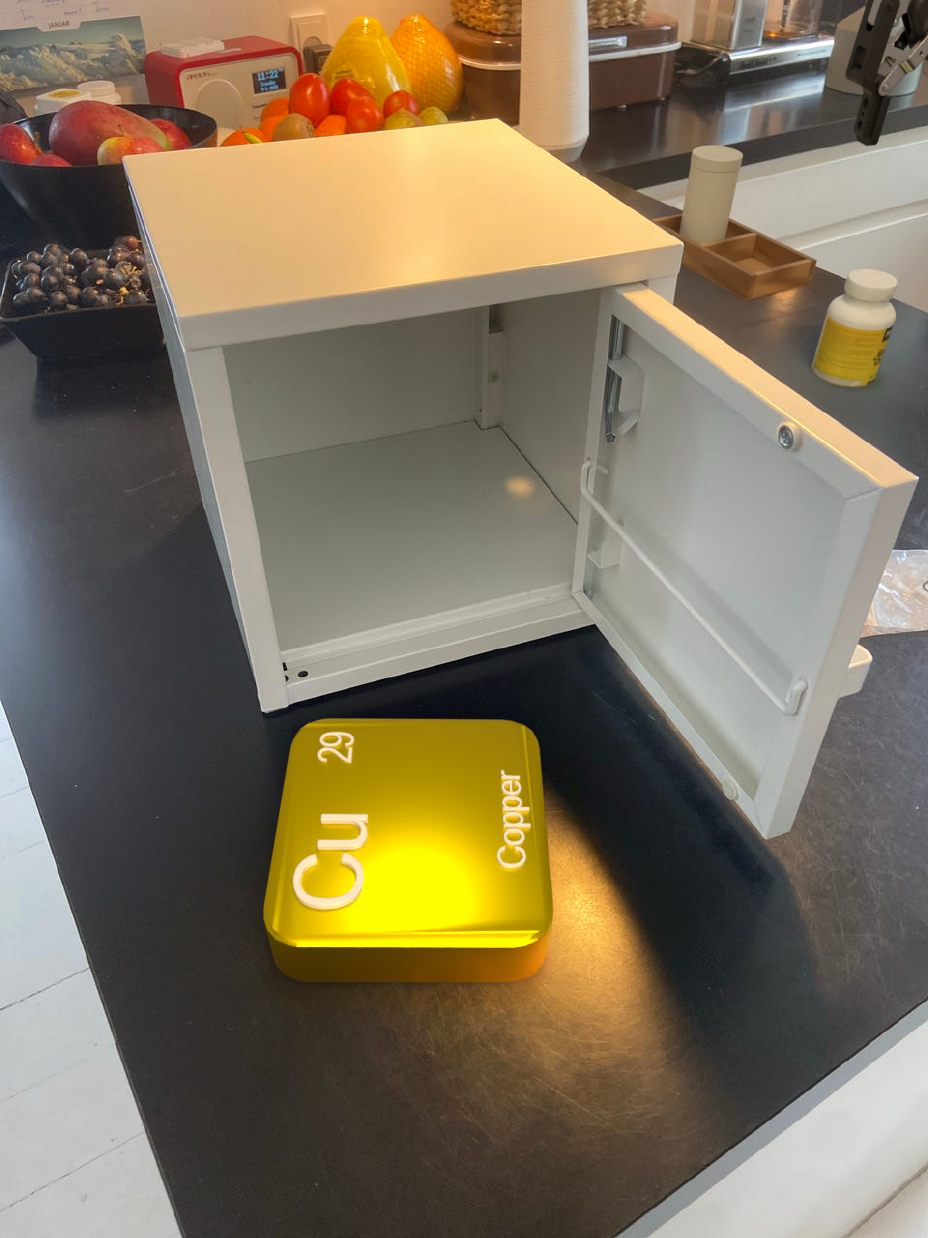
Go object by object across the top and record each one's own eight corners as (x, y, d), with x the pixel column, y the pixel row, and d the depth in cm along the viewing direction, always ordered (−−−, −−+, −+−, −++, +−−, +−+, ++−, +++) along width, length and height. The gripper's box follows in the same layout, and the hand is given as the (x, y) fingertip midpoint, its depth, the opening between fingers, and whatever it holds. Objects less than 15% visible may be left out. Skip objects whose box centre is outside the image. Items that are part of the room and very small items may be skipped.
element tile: (550, 985, 48) (558, 941, 45) (266, 985, 48) (254, 940, 45) (533, 760, 59) (538, 712, 56) (301, 759, 59) (293, 710, 56)
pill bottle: (860, 408, 93) (898, 297, 85) (797, 390, 96) (830, 281, 88) (877, 382, 97) (915, 274, 89) (817, 365, 100) (849, 259, 92)
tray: (703, 233, 128) (708, 207, 125) (809, 287, 115) (817, 259, 113) (642, 246, 124) (646, 219, 122) (745, 304, 111) (752, 275, 109)
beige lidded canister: (702, 237, 125) (720, 142, 117) (732, 253, 121) (753, 156, 113) (666, 245, 123) (682, 149, 115) (696, 261, 119) (715, 163, 111)
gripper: (933, -99, 62) (858, 159, 73) (1112, -100, 64) (1014, 149, 75) (872, -110, 67) (812, 132, 78) (1040, -111, 70) (958, 124, 81)
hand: (911, 140), depth 77 cm, fingers open, 8 cm apart
